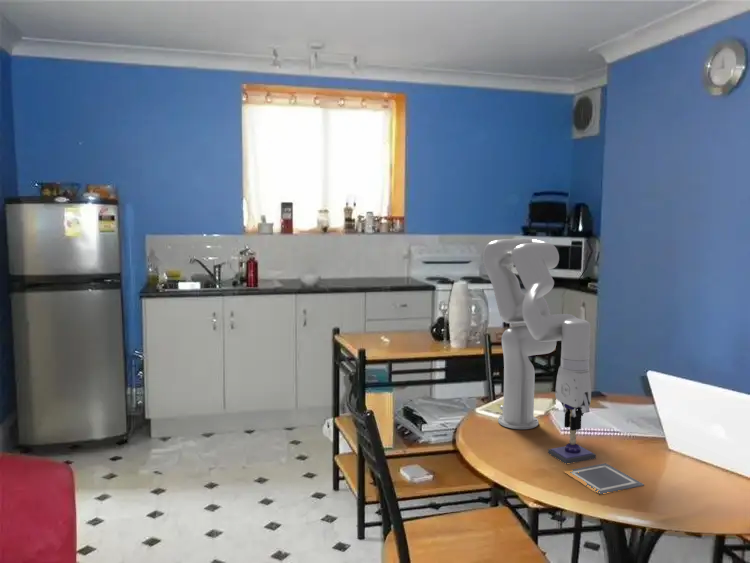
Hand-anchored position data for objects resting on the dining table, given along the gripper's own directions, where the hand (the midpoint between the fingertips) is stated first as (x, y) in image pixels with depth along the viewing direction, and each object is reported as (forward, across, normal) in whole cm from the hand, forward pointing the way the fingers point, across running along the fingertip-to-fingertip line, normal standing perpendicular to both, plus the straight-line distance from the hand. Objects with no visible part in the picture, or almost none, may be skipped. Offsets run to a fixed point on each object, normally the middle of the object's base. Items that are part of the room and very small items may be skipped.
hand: (572, 427), depth 180 cm
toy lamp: (+7, 0, 0) cm, 7 cm away
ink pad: (+8, 0, 0) cm, 8 cm away
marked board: (+8, +15, -2) cm, 17 cm away
